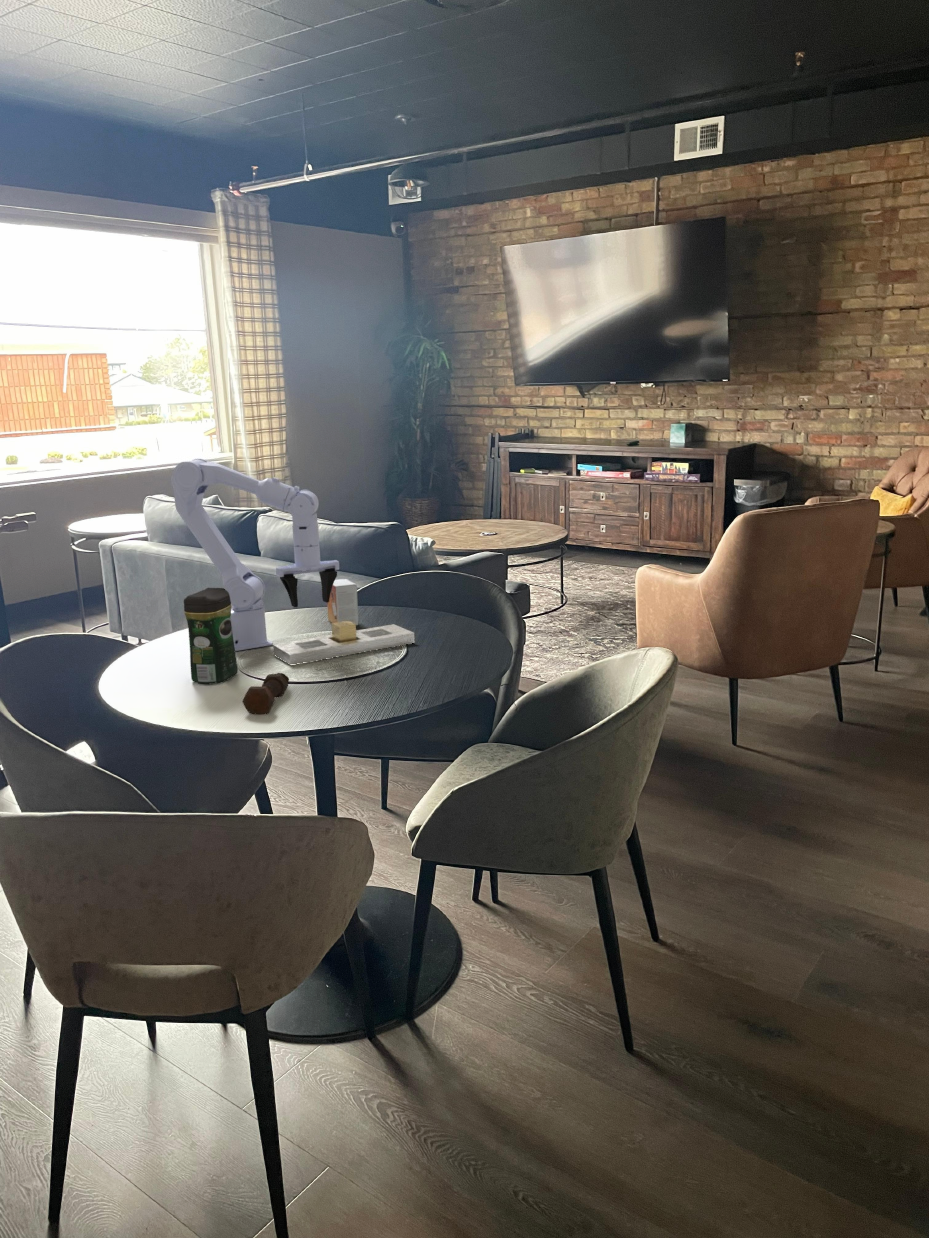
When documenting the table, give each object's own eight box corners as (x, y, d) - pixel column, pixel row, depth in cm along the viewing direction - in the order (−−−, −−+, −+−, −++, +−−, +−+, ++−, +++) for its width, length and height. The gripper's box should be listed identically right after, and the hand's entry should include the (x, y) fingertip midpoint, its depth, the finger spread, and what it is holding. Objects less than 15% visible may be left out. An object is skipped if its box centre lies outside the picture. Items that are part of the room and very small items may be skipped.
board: (290, 666, 194) (289, 654, 193) (273, 655, 202) (273, 644, 202) (414, 643, 209) (414, 632, 209) (394, 634, 217) (393, 624, 217)
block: (340, 652, 203) (339, 626, 202) (333, 648, 207) (331, 623, 205) (357, 649, 205) (355, 624, 204) (349, 646, 209) (347, 620, 207)
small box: (327, 621, 232) (325, 580, 230) (349, 618, 235) (346, 578, 232) (337, 627, 225) (334, 586, 223) (359, 625, 227) (356, 583, 225)
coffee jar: (209, 670, 192) (201, 584, 188) (243, 672, 190) (236, 585, 186) (184, 684, 183) (175, 594, 179) (220, 687, 181) (211, 595, 177)
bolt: (286, 698, 180) (262, 722, 165) (264, 685, 180) (238, 708, 165) (299, 673, 178) (276, 695, 164) (277, 660, 178) (251, 681, 164)
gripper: (282, 550, 199) (286, 611, 202) (343, 543, 206) (346, 602, 209) (270, 546, 204) (275, 606, 208) (330, 540, 212) (334, 597, 215)
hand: (310, 604), depth 209 cm, fingers open, 7 cm apart
